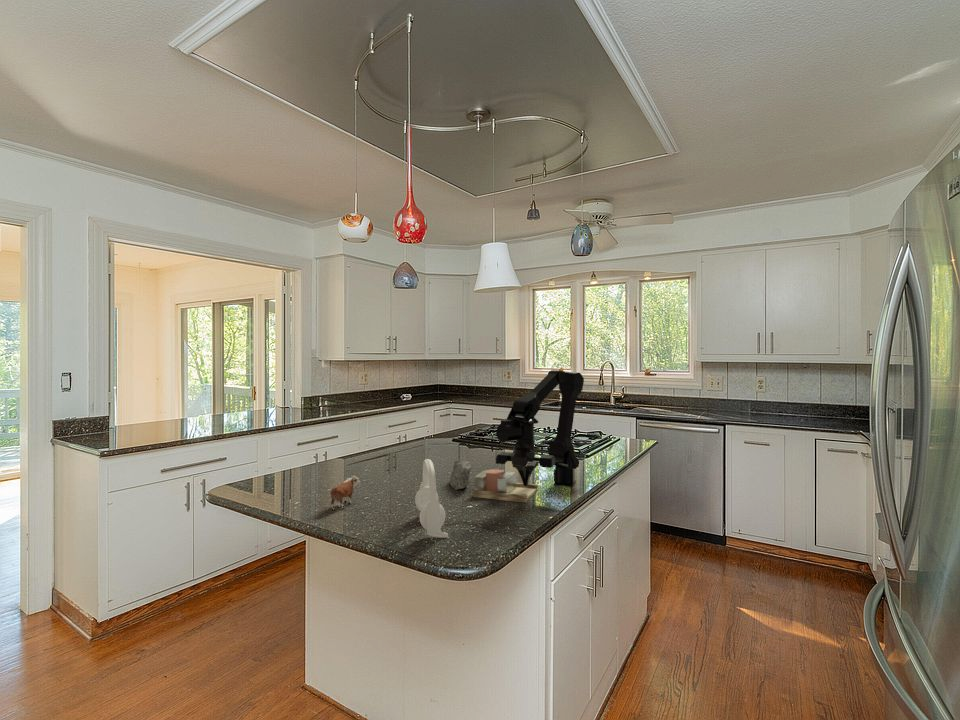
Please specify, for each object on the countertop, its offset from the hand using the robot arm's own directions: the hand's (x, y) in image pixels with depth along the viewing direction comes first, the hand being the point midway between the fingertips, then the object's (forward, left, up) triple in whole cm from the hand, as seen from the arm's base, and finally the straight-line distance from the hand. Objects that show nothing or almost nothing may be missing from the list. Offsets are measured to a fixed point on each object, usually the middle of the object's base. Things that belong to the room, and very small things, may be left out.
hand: (525, 485), depth 163 cm
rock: (+25, -4, -3) cm, 25 cm away
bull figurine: (+50, +28, -3) cm, 57 cm away
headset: (+17, +35, -3) cm, 39 cm away
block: (+10, 0, -2) cm, 11 cm away
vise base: (+7, 0, -3) cm, 7 cm away
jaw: (+6, 0, -2) cm, 7 cm away
